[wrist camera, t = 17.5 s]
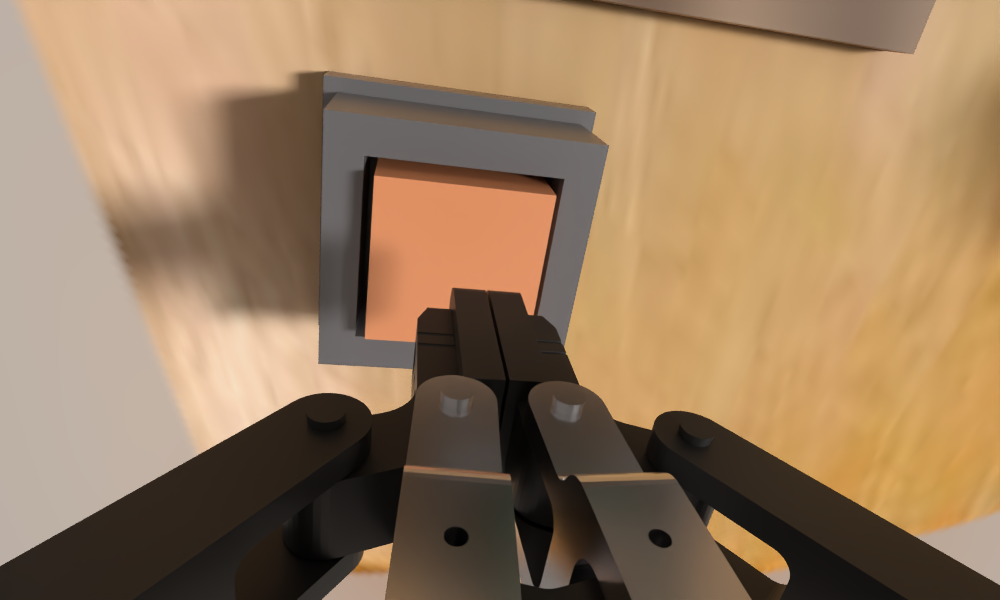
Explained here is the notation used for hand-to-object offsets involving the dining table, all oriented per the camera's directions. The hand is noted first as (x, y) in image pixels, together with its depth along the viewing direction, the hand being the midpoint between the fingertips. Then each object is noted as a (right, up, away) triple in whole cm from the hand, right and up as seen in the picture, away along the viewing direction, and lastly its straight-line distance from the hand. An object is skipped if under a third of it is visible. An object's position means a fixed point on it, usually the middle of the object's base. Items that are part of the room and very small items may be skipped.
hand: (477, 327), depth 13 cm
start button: (-1, +3, +5) cm, 6 cm away
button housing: (-1, +3, +7) cm, 8 cm away
